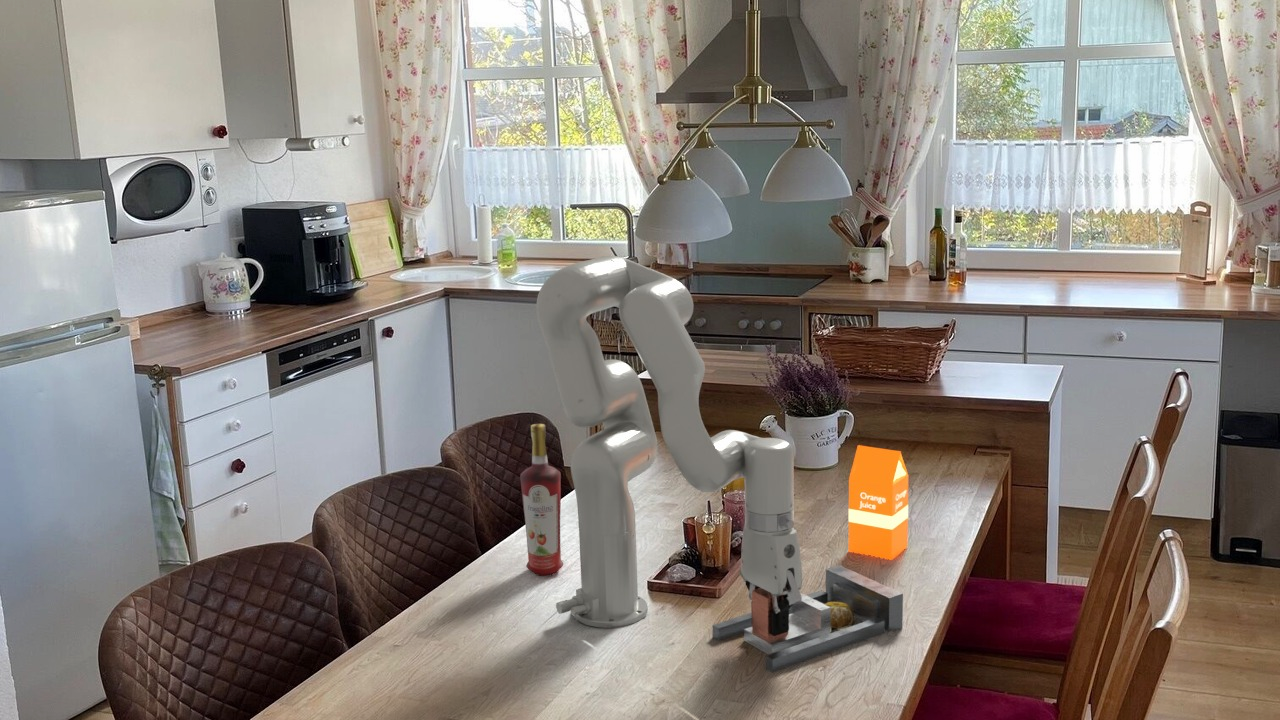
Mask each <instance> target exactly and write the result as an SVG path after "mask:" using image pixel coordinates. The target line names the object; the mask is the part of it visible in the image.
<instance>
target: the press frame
mask: <svg viewBox="0 0 1280 720" xmlns="http://www.w3.org/2000/svg"><path fill="white" fill-rule="evenodd" d="M805 595H806V596H808V597H810V598H812V599H814V600H816V601H818V602H820V603H823V604H826V603H828V602H842V603H846V604H847V605H849V606H850V607H851V609H852V611H853V614H854V618H856V619H858V620H860V621H862V622H860V623H857V624H854V625H851V627H848V628H845V629H842V630H836V631H834V632H831V633H830V634H827V635H825V636H822V637H819V638H816V639H813V640H810V641H807V642H804V643H801V644H798V645H796V646H793V647H790V648H787V649H784V650H781V651H778V652H775V653H772V654H769V655H768V654H766V655H765V669H766V670H767V671H769V672H771V673H776V672H778V671H781V670H784V669H786V668H790V667H792V666H795V665H798V664H801V663H804V662H806V661H809V660H812V659H815V658H818V657H821V656H824V655H826V654H829V653H832V652H835V651H838V650H840V649H843V648H846V647H849V646H852V645H854V644H857V643H860V642H863V641H867V640H869V639H871V638H874V637H877V636H880V635H883V634H885V631H887V632H890V631H898V630H902V629H903V619H904V618H903V617H904V616H903V615H904V614H903V611H904V609H903V608H904V607H903V606H904V605H903V604H904V593H902V592H901V591H898V590H897V589H894V588H891V587H890V586H887V585H884V584H882V583H881V582H878V581H876V580H874V579H871V578H869V577H867V576H865V575H862V574H860V573H858V572H855V571H854V570H851V569H850V568H846V567H844V566H842V565H840V564H839V565H835V566H831V567H829V568H826V569H825V591H824V590H818V591H816V592H811V593H809V594H805ZM789 614H792V608H791V609H789ZM749 627H752V612H749V613H745V614H743V615H739V616H736V617H733V618H729V619H727V620H724V621H720V622H718V623H714V624H712V638H714V640H716V641H722V640H726V639H728V638H731V637H735V636H738V635H741V634H744V629H746V628H749Z"/></svg>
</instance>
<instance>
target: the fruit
mask: <svg viewBox="0 0 1280 720" xmlns="http://www.w3.org/2000/svg"><path fill="white" fill-rule="evenodd" d="M825 605H827V606H829V607H831V620H830V633H833V632H832V629H836V631H839V630H842V629H845V628H848V627H851V626H853V625H852V624H854V623H855V617H854V614H853V611H852V609H851V607H850V606H849V605H847V604H846V603H842V602H828V603H826V604H825Z"/></svg>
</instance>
